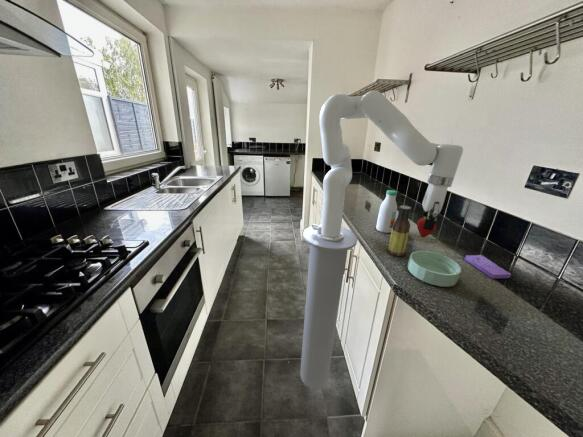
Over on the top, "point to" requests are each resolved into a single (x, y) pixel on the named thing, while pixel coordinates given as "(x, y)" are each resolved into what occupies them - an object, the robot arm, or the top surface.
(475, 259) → the sponge
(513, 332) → the top surface
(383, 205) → the milk bottle
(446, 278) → the bowl
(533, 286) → the top surface
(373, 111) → the robot arm
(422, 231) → the strawberry
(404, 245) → the sauce bottle
